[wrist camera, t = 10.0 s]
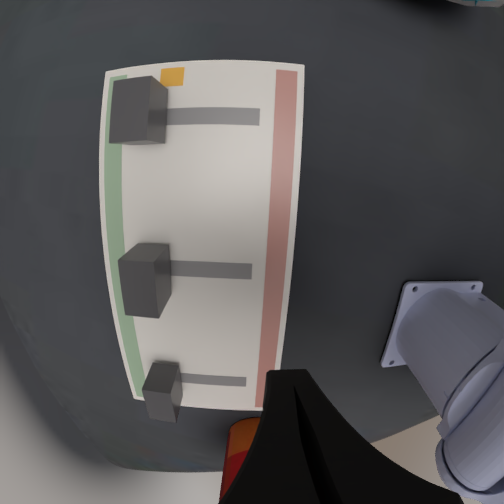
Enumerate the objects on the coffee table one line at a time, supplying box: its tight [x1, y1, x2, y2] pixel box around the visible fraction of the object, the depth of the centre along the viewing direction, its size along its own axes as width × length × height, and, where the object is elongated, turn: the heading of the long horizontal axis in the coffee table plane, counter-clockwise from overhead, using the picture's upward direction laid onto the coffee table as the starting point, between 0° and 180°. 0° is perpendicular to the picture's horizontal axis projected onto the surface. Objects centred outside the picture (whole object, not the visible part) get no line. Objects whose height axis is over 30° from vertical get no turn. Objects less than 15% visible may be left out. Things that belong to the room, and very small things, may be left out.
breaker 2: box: [118, 243, 172, 319], centre depth 15 cm, size 2×3×3 cm, turn 177°
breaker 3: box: [142, 362, 183, 423], centre depth 18 cm, size 2×3×3 cm, turn 177°
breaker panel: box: [99, 60, 304, 411], centre depth 18 cm, size 12×25×2 cm, turn 177°
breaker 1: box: [109, 75, 168, 145], centre depth 13 cm, size 2×3×3 cm, turn 177°
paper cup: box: [219, 417, 261, 502], centre depth 18 cm, size 8×8×14 cm
